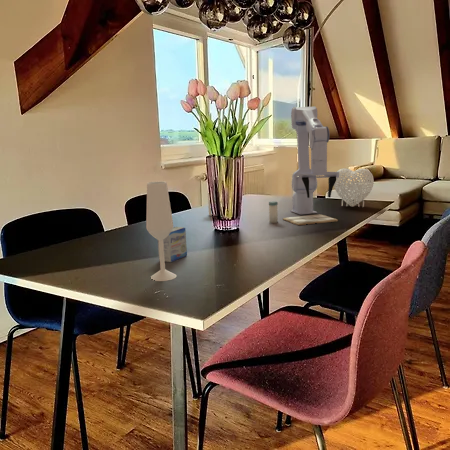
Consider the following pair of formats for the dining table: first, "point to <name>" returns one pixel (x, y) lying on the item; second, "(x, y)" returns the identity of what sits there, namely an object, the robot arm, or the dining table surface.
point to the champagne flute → (159, 222)
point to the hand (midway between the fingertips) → (318, 197)
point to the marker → (273, 212)
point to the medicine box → (175, 245)
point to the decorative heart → (354, 185)
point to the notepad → (309, 219)
